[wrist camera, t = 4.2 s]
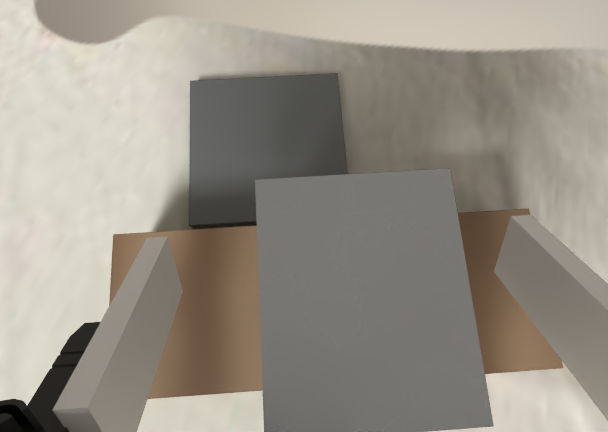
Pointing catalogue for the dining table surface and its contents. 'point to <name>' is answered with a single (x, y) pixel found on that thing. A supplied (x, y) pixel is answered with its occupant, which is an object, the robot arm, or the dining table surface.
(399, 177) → the grey rectangular block
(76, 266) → the dining table surface
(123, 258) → the body
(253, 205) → the rubber pad
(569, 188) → the dining table surface
